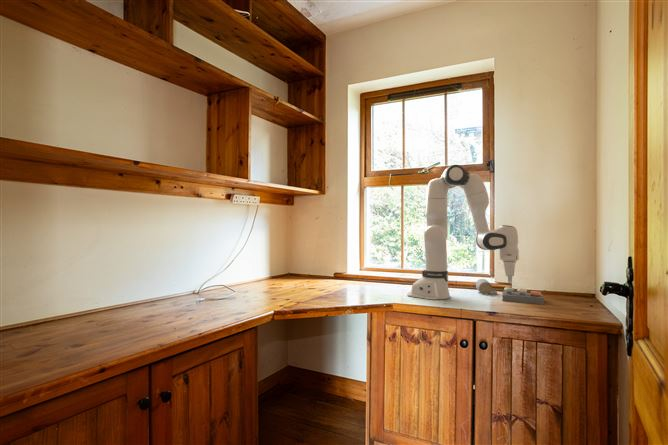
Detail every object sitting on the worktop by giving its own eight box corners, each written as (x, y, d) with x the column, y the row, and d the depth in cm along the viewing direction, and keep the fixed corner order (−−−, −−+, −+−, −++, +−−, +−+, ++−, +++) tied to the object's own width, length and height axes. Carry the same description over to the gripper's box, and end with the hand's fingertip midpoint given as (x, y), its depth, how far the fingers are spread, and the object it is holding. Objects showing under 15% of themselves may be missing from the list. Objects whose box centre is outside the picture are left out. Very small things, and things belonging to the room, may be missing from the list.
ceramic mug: (479, 294, 190) (479, 280, 190) (475, 291, 198) (475, 278, 198) (499, 295, 188) (499, 281, 188) (494, 292, 196) (494, 279, 196)
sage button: (504, 296, 176) (504, 288, 176) (504, 295, 180) (504, 287, 180) (513, 297, 174) (513, 289, 174) (513, 295, 178) (513, 287, 178)
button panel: (502, 300, 173) (502, 295, 173) (502, 296, 184) (502, 291, 184) (543, 304, 165) (543, 298, 165) (541, 299, 176) (541, 293, 176)
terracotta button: (531, 300, 171) (530, 292, 171) (530, 299, 175) (530, 290, 175) (541, 301, 169) (541, 293, 169) (540, 300, 173) (540, 291, 173)
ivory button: (517, 297, 174) (517, 289, 174) (517, 296, 177) (517, 287, 177) (527, 298, 172) (527, 290, 172) (526, 297, 175) (526, 288, 175)
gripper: (502, 254, 188) (503, 279, 188) (502, 257, 170) (502, 285, 170) (515, 254, 185) (516, 280, 185) (516, 258, 167) (517, 286, 167)
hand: (510, 282), depth 177 cm, fingers closed
